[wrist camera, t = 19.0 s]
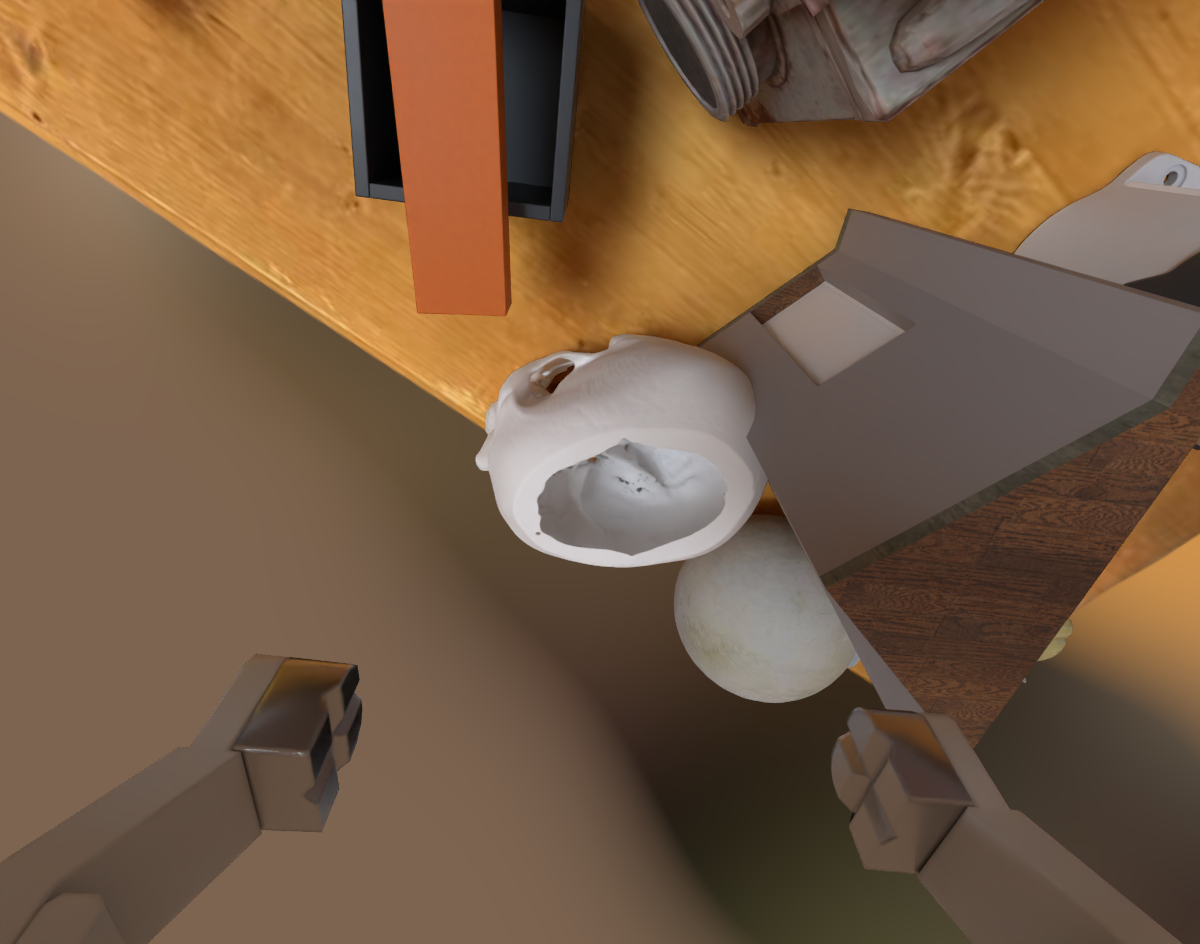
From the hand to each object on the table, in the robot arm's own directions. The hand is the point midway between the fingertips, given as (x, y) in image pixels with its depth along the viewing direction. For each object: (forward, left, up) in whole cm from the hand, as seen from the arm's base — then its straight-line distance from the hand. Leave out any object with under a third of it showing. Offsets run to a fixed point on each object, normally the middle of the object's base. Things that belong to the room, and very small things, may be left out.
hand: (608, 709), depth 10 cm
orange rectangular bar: (+7, -8, -26) cm, 29 cm away
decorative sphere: (-24, +26, -32) cm, 48 cm away
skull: (0, +10, -40) cm, 41 cm away
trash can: (+7, -9, -38) cm, 40 cm away
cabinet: (-14, +5, -38) cm, 41 cm away
